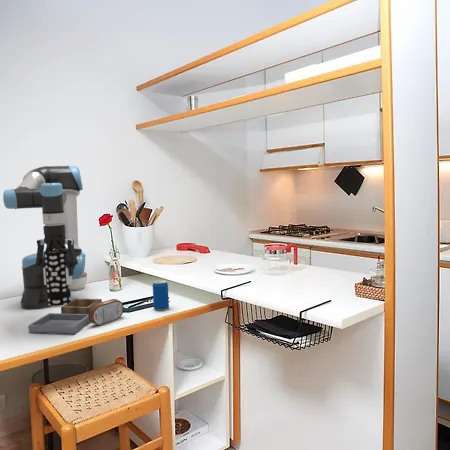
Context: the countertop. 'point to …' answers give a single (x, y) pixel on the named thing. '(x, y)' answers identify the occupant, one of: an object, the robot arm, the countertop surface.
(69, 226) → the robot arm
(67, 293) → the white-spotted black cylinder
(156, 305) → the beverage can
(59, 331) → the tray
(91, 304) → the holder
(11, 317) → the countertop surface
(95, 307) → the tin
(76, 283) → the lidded jar
